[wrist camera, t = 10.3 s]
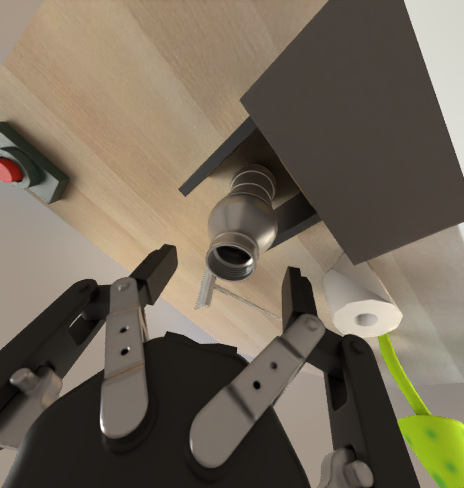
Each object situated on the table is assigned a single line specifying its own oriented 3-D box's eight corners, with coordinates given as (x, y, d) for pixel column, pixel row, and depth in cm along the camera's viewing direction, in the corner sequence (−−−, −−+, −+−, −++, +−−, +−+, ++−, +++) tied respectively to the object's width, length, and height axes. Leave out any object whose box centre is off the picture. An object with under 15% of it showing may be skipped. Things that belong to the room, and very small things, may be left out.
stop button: (0, 167, 33) (-13, 170, 32) (3, 153, 31) (-10, 154, 30) (21, 184, 34) (10, 187, 33) (25, 170, 32) (13, 173, 31)
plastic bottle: (229, 165, 29) (171, 229, 13) (274, 156, 27) (273, 218, 11) (237, 205, 33) (199, 295, 16) (278, 199, 31) (281, 295, 15)
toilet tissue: (347, 239, 32) (366, 274, 25) (386, 285, 36) (413, 327, 29) (301, 265, 37) (307, 300, 30) (339, 303, 41) (353, 343, 34)
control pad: (-2, 151, 36) (-30, 154, 32) (4, 121, 32) (-27, 122, 29) (58, 200, 39) (39, 208, 36) (70, 178, 36) (49, 184, 33)
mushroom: (385, 346, 45) (475, 535, 25) (352, 334, 45) (416, 515, 25) (415, 328, 41) (557, 544, 20) (379, 315, 40) (484, 519, 20)
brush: (288, 314, 53) (291, 352, 46) (204, 269, 43) (193, 309, 36) (299, 310, 50) (304, 349, 44) (214, 262, 40) (204, 303, 34)
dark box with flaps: (254, 232, 35) (240, 311, 21) (199, 169, 30) (134, 216, 16) (367, 160, 26) (477, 216, 12) (312, 55, 21) (383, -62, 7)
